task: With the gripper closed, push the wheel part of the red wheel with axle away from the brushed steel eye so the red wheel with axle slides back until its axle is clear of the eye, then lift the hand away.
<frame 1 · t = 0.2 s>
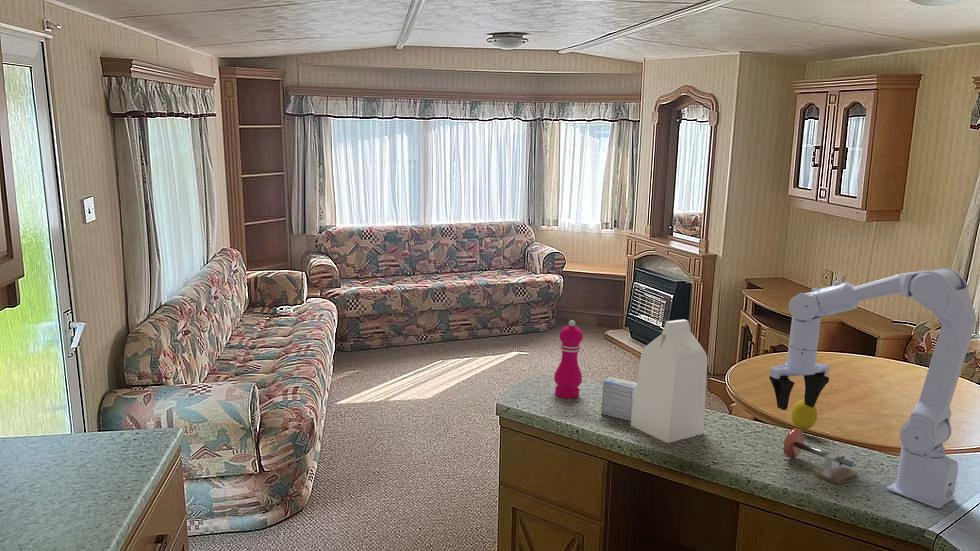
hand: (795, 407, 160), 10 cm above the worktop, tool pointing down, fingers open, 7 cm apart
milk: (666, 430, 169), on the worktop
lemon: (801, 431, 173), on the worktop
grey rectangular block: (618, 416, 177), on the worktop
red wheel with axle: (818, 452, 151), point 4 cm above the worktop, slide at 0.0 cm
pepper mill: (566, 395, 191), on the worktop
eye bracket: (835, 475, 149), on the worktop
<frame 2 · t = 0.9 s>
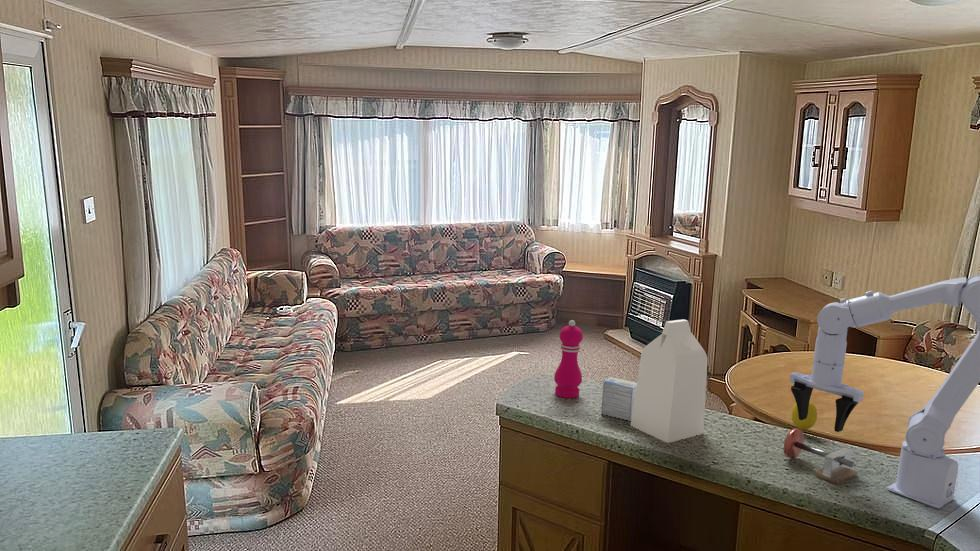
hand: (820, 424, 151), 9 cm above the worktop, tool pointing down, fingers open, 7 cm apart
nothing on the worktop moved.
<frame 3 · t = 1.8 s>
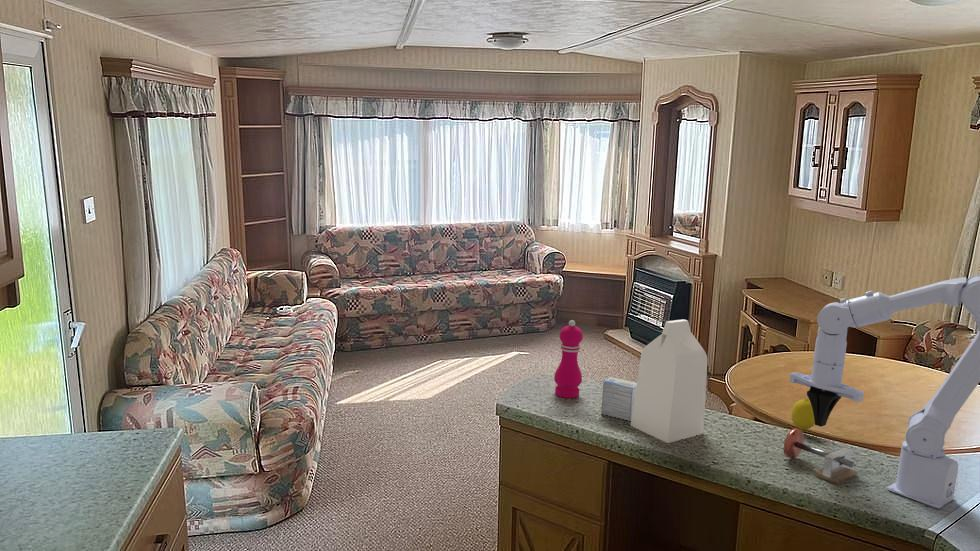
hand: (820, 424, 151), 9 cm above the worktop, tool pointing down, fingers closed
nothing on the worktop moved.
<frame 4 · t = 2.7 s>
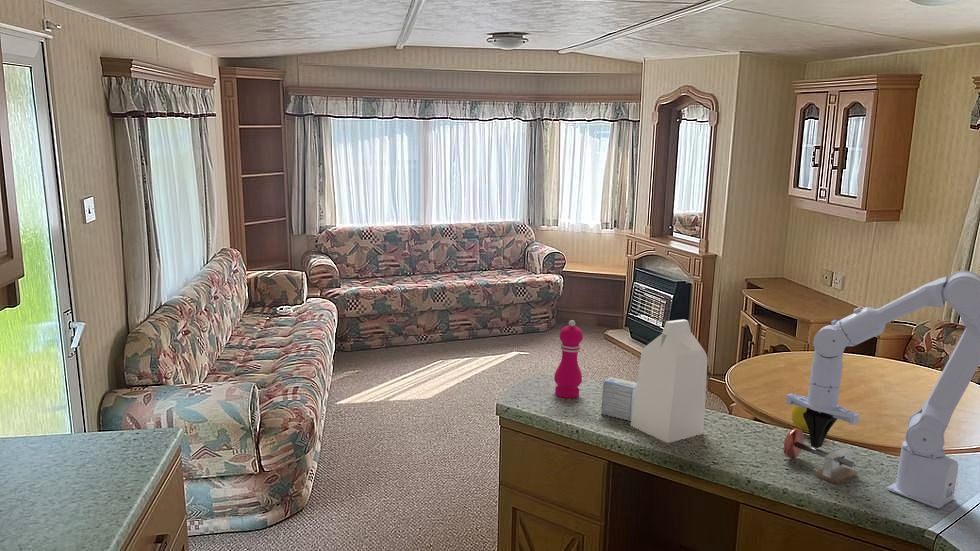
hand: (816, 446, 152), 5 cm above the worktop, tool pointing down, fingers closed
nothing on the worktop moved.
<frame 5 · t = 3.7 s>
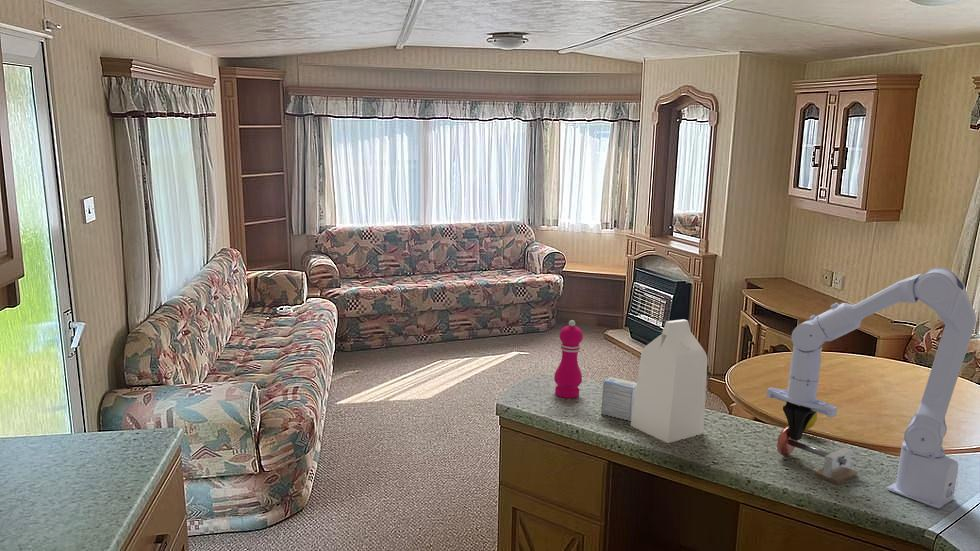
hand: (795, 438, 155), 5 cm above the worktop, tool pointing down, fingers closed
red wheel with axle: (811, 449, 152), point 4 cm above the worktop, slide at 1.5 cm, touching gripper
everything else where it was.
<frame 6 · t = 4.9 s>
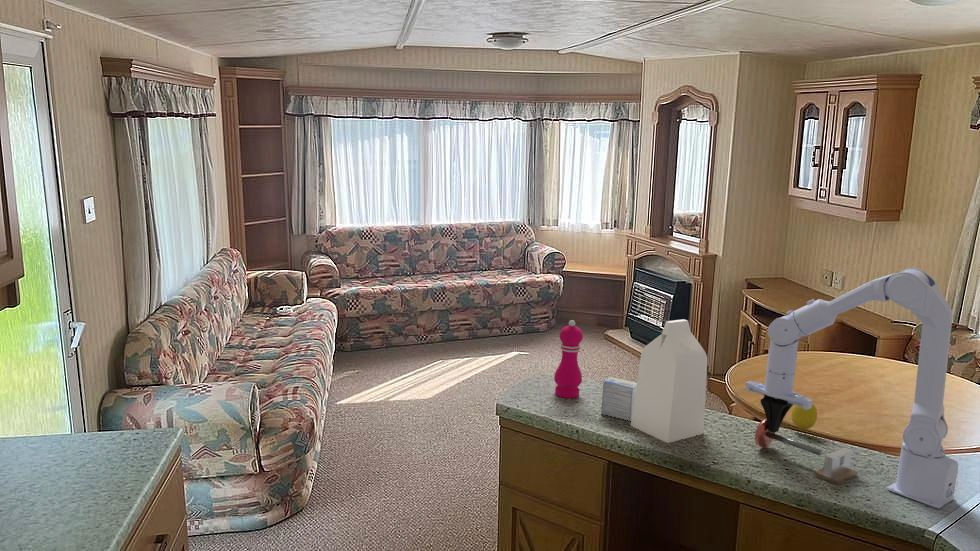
hand: (773, 430, 159), 5 cm above the worktop, tool pointing down, fingers closed
red wheel with axle: (788, 441, 156), point 4 cm above the worktop, slide at 6.7 cm, touching gripper
everything else where it was.
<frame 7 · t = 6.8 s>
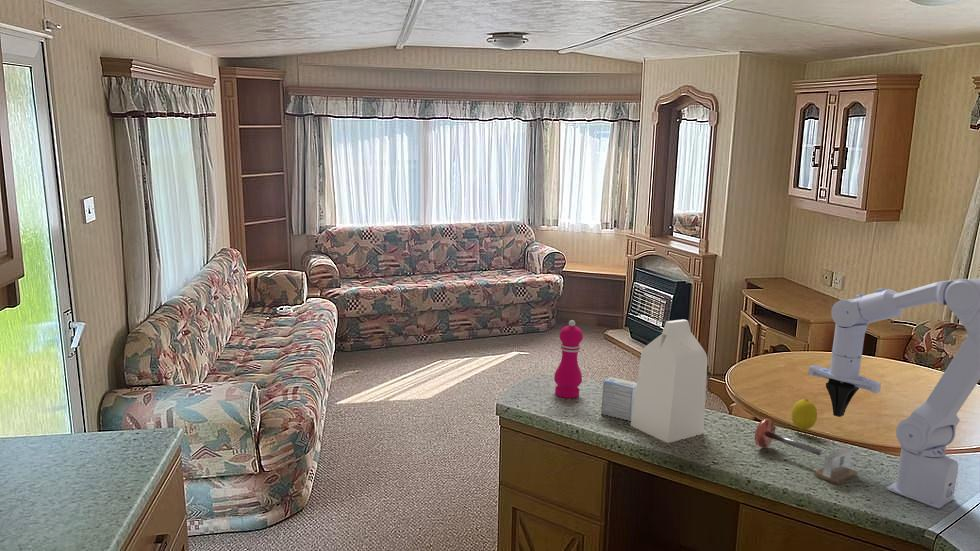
hand: (838, 415, 157), 9 cm above the worktop, tool pointing down, fingers closed
red wheel with axle: (788, 441, 157), point 4 cm above the worktop, slide at 6.8 cm
everything else where it was.
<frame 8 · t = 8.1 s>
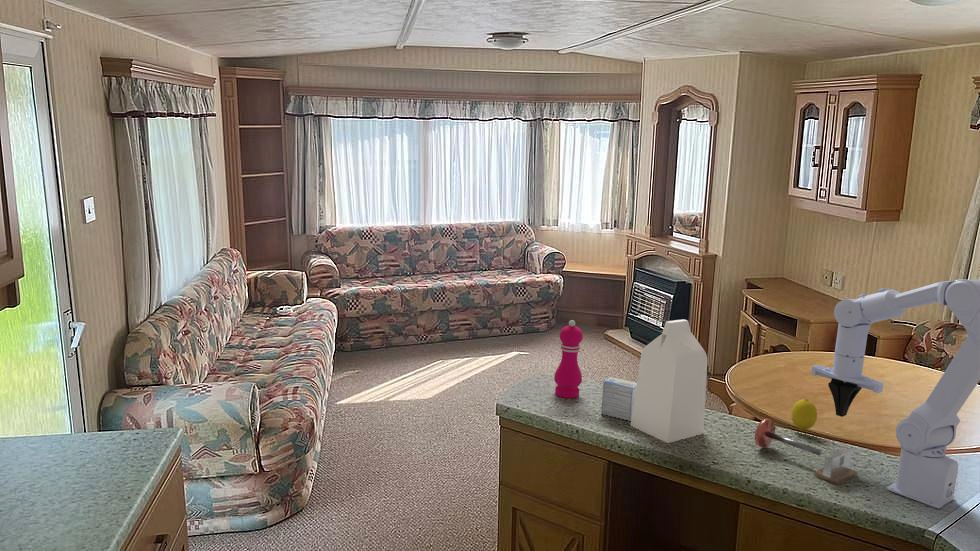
hand: (841, 415, 157), 9 cm above the worktop, tool pointing down, fingers closed
nothing on the worktop moved.
at the end: red wheel with axle slide at 6.8 cm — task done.
